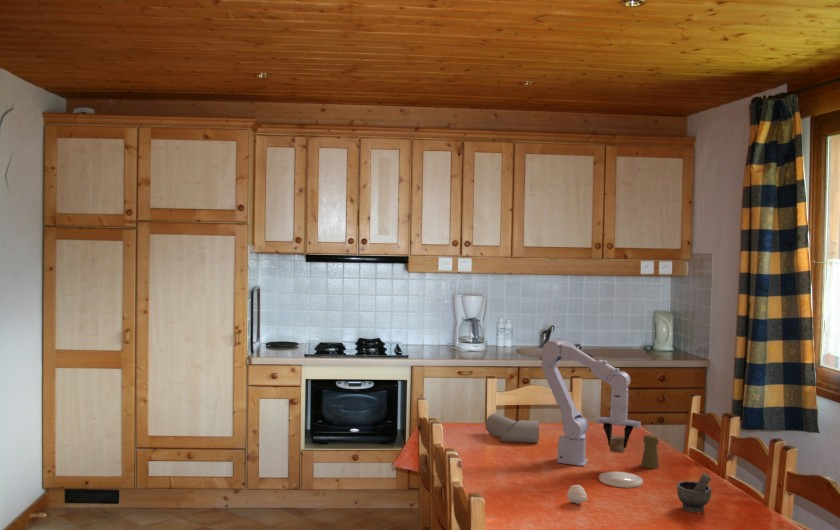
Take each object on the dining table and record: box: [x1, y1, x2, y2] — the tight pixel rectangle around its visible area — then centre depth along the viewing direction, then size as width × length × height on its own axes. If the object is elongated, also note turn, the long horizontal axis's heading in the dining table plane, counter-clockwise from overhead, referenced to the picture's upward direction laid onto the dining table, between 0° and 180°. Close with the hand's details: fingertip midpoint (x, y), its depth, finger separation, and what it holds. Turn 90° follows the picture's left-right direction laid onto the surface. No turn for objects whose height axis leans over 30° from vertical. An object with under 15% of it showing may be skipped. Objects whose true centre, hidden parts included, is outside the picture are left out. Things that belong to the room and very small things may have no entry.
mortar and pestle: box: [676, 473, 712, 513], centre depth 230 cm, size 11×9×12 cm
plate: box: [598, 471, 644, 489], centre depth 256 cm, size 14×14×1 cm
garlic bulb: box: [567, 484, 588, 505], centre depth 232 cm, size 6×6×5 cm
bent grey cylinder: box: [485, 413, 540, 444], centre depth 305 cm, size 18×11×20 cm
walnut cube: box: [609, 435, 626, 454], centre depth 268 cm, size 4×4×4 cm
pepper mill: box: [641, 433, 660, 470], centre depth 273 cm, size 6×6×11 cm
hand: (617, 446), depth 268 cm, fingers closed on walnut cube, 4 cm apart
